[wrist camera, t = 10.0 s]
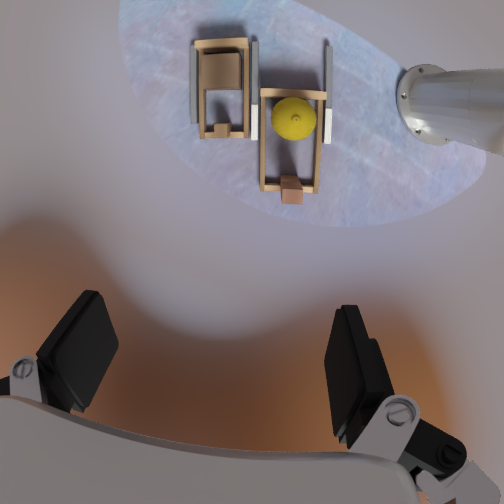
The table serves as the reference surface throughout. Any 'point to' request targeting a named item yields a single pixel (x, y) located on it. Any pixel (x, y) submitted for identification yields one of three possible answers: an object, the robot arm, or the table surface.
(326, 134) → the lane rails
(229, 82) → the walnut cube
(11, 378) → the robot arm
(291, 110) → the lemon
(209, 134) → the cube
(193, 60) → the rail right
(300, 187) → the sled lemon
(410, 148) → the table surface
